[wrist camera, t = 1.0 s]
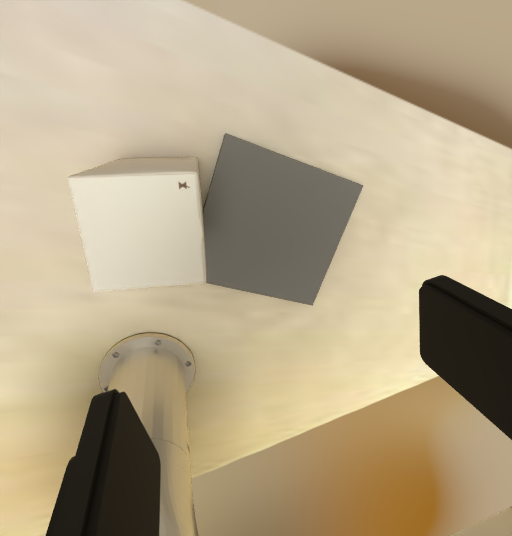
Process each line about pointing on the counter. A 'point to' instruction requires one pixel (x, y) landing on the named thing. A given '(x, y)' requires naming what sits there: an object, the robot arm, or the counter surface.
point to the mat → (273, 222)
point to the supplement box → (141, 223)
